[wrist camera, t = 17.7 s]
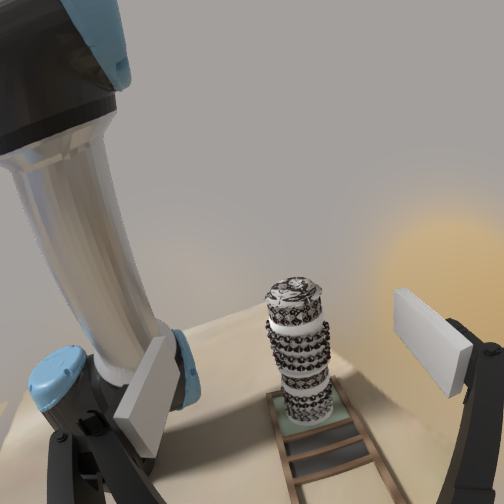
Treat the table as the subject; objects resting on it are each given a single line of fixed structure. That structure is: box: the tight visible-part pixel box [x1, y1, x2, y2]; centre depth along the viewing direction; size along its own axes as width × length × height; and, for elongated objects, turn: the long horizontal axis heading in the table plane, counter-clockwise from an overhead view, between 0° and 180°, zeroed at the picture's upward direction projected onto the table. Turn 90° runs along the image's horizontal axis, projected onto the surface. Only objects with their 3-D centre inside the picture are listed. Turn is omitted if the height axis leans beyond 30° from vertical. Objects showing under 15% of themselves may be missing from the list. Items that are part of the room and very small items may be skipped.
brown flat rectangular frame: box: [266, 375, 406, 504], centre depth 36 cm, size 34×14×1 cm, turn 6°
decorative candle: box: [265, 277, 333, 426], centre depth 43 cm, size 9×9×25 cm
